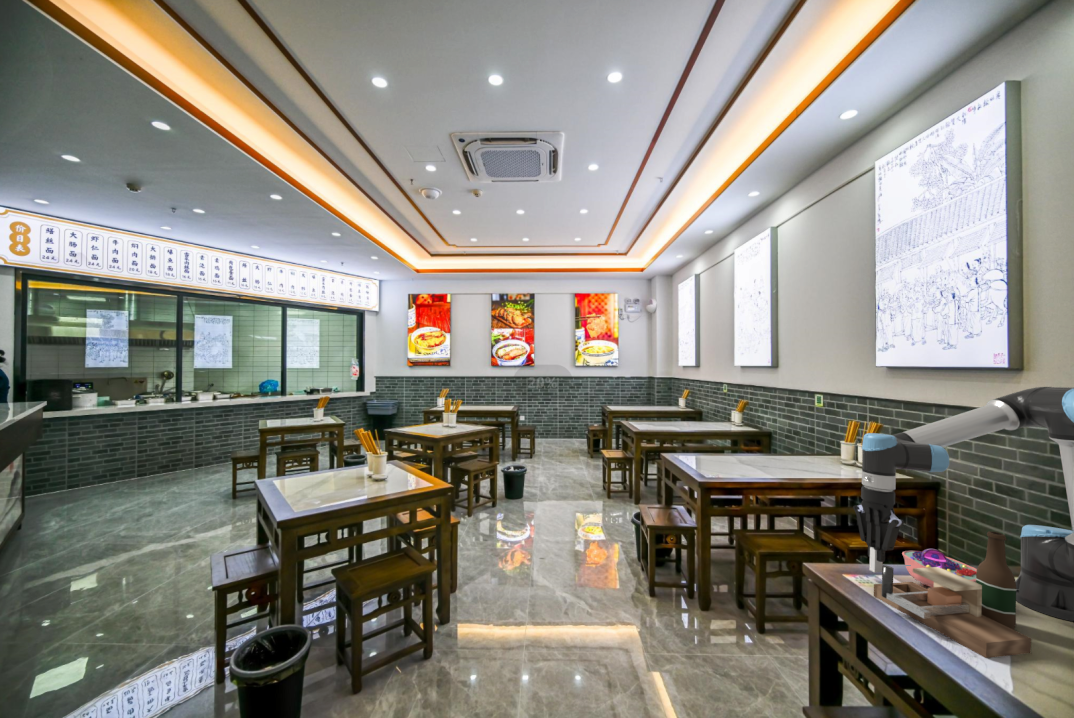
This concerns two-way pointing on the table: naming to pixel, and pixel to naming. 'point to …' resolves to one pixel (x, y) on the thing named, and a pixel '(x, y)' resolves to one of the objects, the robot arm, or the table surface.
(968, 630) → the base
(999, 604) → the beer bottle
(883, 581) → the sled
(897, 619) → the table surface
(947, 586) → the tunnel
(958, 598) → the block
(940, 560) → the cell model
